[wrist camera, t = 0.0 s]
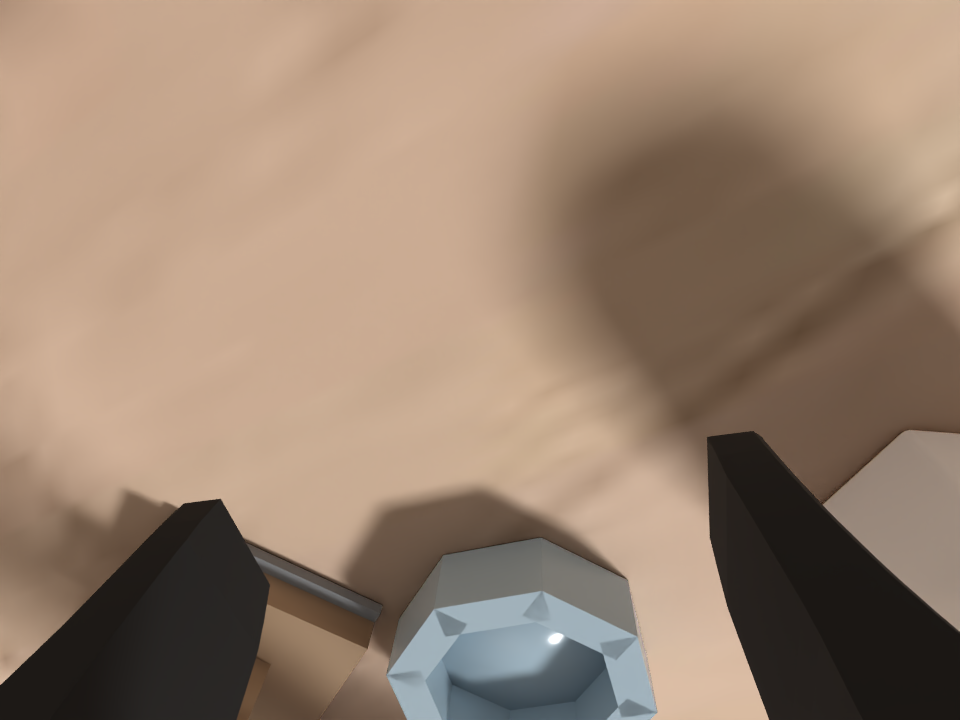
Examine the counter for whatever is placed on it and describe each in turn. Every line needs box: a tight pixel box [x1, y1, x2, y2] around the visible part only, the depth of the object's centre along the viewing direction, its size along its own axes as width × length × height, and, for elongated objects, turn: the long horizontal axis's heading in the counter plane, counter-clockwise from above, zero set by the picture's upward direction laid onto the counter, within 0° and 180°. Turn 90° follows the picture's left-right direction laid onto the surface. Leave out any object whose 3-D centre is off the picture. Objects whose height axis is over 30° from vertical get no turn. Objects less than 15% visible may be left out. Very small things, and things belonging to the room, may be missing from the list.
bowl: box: [386, 538, 657, 720], centre depth 24 cm, size 8×8×2 cm
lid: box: [237, 572, 374, 720], centre depth 24 cm, size 8×8×5 cm
